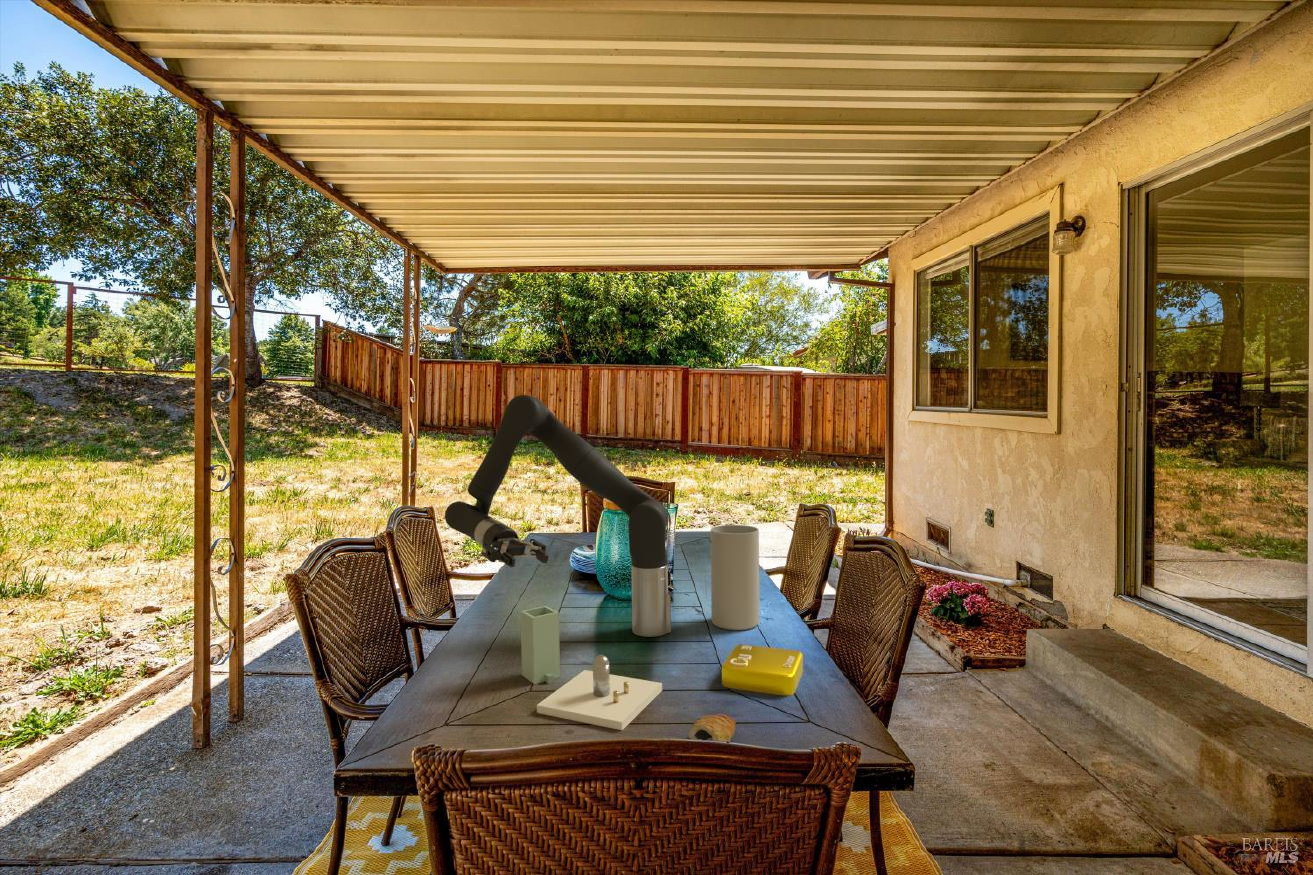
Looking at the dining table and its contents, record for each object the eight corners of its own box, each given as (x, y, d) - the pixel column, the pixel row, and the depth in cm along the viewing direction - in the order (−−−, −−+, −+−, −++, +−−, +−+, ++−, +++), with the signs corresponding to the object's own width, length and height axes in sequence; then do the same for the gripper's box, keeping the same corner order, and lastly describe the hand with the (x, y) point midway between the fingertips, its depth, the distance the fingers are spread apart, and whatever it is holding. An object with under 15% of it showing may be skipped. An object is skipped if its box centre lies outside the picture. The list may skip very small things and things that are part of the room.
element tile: (793, 698, 132) (793, 675, 132) (719, 688, 137) (719, 665, 137) (804, 670, 146) (804, 648, 146) (737, 661, 151) (736, 640, 151)
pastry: (712, 721, 122) (712, 701, 122) (745, 731, 119) (745, 710, 119) (685, 743, 115) (685, 721, 114) (720, 754, 111) (720, 732, 111)
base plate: (536, 712, 126) (535, 665, 126) (584, 676, 143) (583, 634, 142) (622, 730, 119) (621, 680, 119) (662, 690, 135) (661, 646, 135)
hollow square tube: (522, 675, 144) (520, 611, 143) (547, 668, 148) (545, 605, 147) (537, 686, 138) (536, 619, 137) (563, 679, 141) (562, 614, 141)
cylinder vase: (705, 627, 173) (704, 532, 172) (719, 613, 185) (718, 523, 183) (752, 633, 168) (752, 535, 167) (764, 618, 180) (763, 526, 179)
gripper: (470, 524, 157) (504, 547, 145) (523, 521, 167) (559, 542, 155) (466, 555, 158) (499, 580, 146) (519, 549, 168) (554, 573, 156)
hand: (530, 561), depth 151 cm, fingers open, 8 cm apart
